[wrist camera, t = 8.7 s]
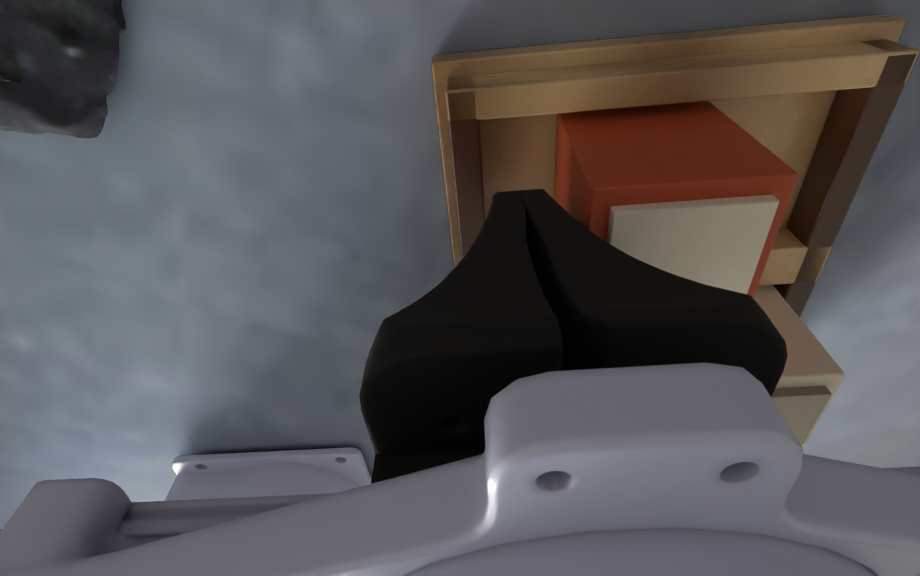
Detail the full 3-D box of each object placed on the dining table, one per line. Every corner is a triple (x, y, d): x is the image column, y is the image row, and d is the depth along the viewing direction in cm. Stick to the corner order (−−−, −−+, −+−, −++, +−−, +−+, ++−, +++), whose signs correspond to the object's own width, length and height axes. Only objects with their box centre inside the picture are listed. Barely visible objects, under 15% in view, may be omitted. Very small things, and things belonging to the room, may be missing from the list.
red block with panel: (552, 238, 16) (580, 344, 12) (556, 112, 13) (594, 196, 10) (680, 229, 16) (750, 334, 12) (708, 99, 13) (809, 180, 9)
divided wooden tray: (467, 378, 21) (468, 416, 20) (432, 54, 13) (428, 75, 12) (748, 362, 21) (772, 400, 19) (887, 13, 13) (947, 28, 11)
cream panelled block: (629, 362, 19) (670, 475, 16) (644, 281, 17) (697, 391, 13) (734, 356, 19) (802, 469, 15) (765, 273, 17) (854, 383, 13)
